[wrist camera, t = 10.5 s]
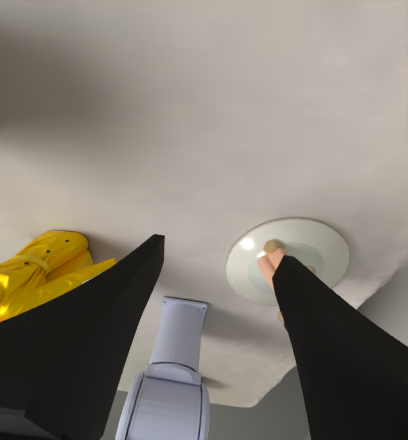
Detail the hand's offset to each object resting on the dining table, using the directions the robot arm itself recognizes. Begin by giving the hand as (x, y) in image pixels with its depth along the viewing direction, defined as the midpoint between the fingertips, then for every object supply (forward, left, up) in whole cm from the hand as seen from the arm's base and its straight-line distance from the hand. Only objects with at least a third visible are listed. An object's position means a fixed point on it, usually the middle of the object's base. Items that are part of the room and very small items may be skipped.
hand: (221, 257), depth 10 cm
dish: (-9, -11, -10) cm, 18 cm away
